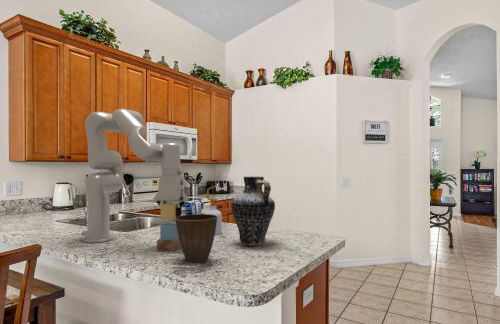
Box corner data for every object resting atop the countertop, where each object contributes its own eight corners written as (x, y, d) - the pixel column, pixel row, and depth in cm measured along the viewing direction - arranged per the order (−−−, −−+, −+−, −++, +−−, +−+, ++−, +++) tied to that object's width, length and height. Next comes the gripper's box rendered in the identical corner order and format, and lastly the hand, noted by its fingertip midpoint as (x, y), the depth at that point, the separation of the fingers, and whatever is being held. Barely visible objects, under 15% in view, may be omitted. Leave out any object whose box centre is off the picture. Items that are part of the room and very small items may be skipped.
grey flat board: (143, 252, 129) (143, 250, 129) (158, 245, 140) (158, 243, 140) (184, 255, 124) (184, 253, 124) (196, 247, 136) (196, 246, 136)
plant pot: (179, 270, 106) (179, 221, 106) (171, 258, 120) (172, 215, 120) (222, 264, 112) (222, 218, 112) (210, 254, 126) (210, 213, 126)
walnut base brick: (156, 250, 130) (156, 240, 130) (166, 245, 137) (166, 236, 137) (175, 251, 128) (175, 241, 128) (183, 246, 135) (183, 237, 135)
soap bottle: (220, 235, 162) (220, 186, 162) (202, 235, 162) (202, 186, 162) (222, 231, 171) (222, 185, 171) (205, 231, 171) (205, 185, 171)
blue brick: (167, 236, 136) (167, 222, 136) (180, 237, 135) (180, 223, 135) (160, 239, 130) (160, 224, 130) (173, 240, 129) (173, 225, 129)
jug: (222, 243, 143) (222, 176, 144) (252, 237, 157) (252, 175, 157) (255, 252, 128) (255, 176, 129) (286, 244, 142) (285, 176, 143)
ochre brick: (167, 216, 136) (167, 202, 136) (180, 217, 135) (180, 202, 135) (160, 219, 130) (160, 204, 131) (174, 219, 129) (174, 204, 129)
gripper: (194, 173, 135) (194, 216, 134) (156, 173, 139) (156, 215, 138) (186, 173, 127) (186, 218, 127) (147, 173, 132) (147, 217, 131)
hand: (171, 216), depth 133 cm, fingers closed on ochre brick, 6 cm apart
